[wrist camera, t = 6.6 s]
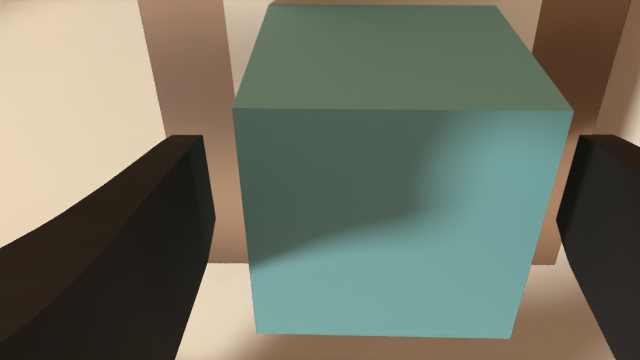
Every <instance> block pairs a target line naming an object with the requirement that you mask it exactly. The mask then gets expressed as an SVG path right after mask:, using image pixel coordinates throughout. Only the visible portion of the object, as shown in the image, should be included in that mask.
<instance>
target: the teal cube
mask: <svg viewBox="0 0 640 360" xmlns="http://www.w3.org/2000/svg"><path fill="white" fill-rule="evenodd" d="M232 114H233V123H234V133H235V142H236V151H237V160H238V169H239V178H240V188H241V197H242V206H243V215H244V224H245V233H246V243H247V252H248V261H249V270H250V279H251V288H252V298H253V307H254V316H255V325H256V334H304V335H351V336H399V337H446V338H494V339H510V337H511V334H512V330H513V327H514V323H515V320H516V316H517V313H518V309H519V305H520V302H521V298H522V295H523V291H524V288H525V284H526V281H527V277H528V274H529V270H530V266H531V263H532V259H533V256H534V252H535V249H536V245H537V242H538V238H539V234H540V231H541V227H542V224H543V220H544V217H545V213H546V210H547V206H548V202H549V199H550V195H551V192H552V188H553V185H554V181H555V178H556V174H557V171H558V167H559V163H560V160H561V156H562V153H563V149H564V146H565V142H566V139H567V135H568V131H569V128H570V124H571V121H572V117H573V114H574V110H573V109H572V107H571V106H570V105H569V103H568V102H567V100H566V99H565V98H564V96H563V95H562V94H561V92H560V91H559V90H558V88H557V87H556V86H555V84H554V83H553V82H552V80H551V79H550V78H549V76H548V75H547V74H546V72H545V71H544V70H543V68H542V67H541V65H540V64H539V63H538V61H537V60H536V59H535V57H534V56H533V55H532V53H531V52H530V51H529V49H528V48H527V47H526V45H525V44H524V43H523V41H522V40H521V39H520V37H519V36H518V35H517V33H516V32H515V30H514V29H513V28H512V26H511V25H510V24H509V22H508V21H507V20H506V18H505V17H504V16H503V14H502V13H501V12H500V10H499V9H498V8H497V6H496V5H268V8H267V11H266V14H265V17H264V19H263V22H262V25H261V28H260V31H259V33H258V36H257V39H256V42H255V45H254V47H253V50H252V53H251V56H250V59H249V61H248V64H247V67H246V70H245V73H244V75H243V78H242V81H241V84H240V87H239V89H238V92H237V95H236V98H235V101H234V103H233V106H232Z"/></svg>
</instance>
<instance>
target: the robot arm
mask: <svg viewBox="0 0 640 360" xmlns="http://www.w3.org/2000/svg"><path fill="white" fill-rule="evenodd" d="M215 221H216V215H215V208H214V202H213V196H212V190H211V183H210V177H209V171H208V164H207V158H206V152H205V146H204V139H203V135H171V136H169V137H168V138H166V139H165V140H163V141H162V142H160V143H159V144H158V145H156V146H155V147H153V148H152V149H151V150H149V151H148V152H147V153H146V154H144V155H143V156H142V157H140V158H139V159H138V160H136V161H135V162H134V163H132V164H131V165H130V166H128V167H127V168H126V169H124V170H123V171H122V172H120V173H119V174H118V175H116V176H115V177H114V178H112V179H111V180H110V181H108V182H107V183H106V184H104V185H103V186H101V187H100V188H98V189H97V190H95V191H94V192H92V193H91V194H90V195H88V196H87V197H85V198H84V199H82V200H81V201H79V202H78V203H76V204H75V205H73V206H72V207H70V208H69V209H67V210H66V211H64V212H63V213H61V214H60V215H58V216H56V217H55V218H53V219H52V220H50V221H48V222H47V223H45V224H43V225H42V226H40V227H38V228H36V229H35V230H33V231H31V232H29V233H27V234H26V235H24V236H22V237H20V238H18V239H16V240H15V241H13V242H11V243H9V244H7V245H5V246H3V247H1V248H0V360H175V358H176V355H177V352H178V349H179V346H180V343H181V340H182V337H183V334H184V331H185V328H186V325H187V322H188V319H189V316H190V313H191V311H192V308H193V305H194V302H195V299H196V296H197V293H198V290H199V287H200V284H201V281H202V278H203V275H204V272H205V269H206V266H207V263H208V259H209V254H210V249H211V244H212V238H213V233H214V227H215ZM556 223H557V227H558V230H559V233H560V237H561V240H562V244H563V247H564V250H565V253H566V256H567V259H568V262H569V265H570V267H571V269H572V271H573V273H574V275H575V278H576V280H577V282H578V284H579V286H580V288H581V290H582V292H583V294H584V296H585V298H586V300H587V302H588V304H589V306H590V308H591V310H592V312H593V314H594V317H595V319H596V321H597V323H598V325H599V327H600V329H601V331H602V333H603V335H604V337H605V339H606V341H607V343H608V345H609V347H610V349H611V351H612V353H613V355H614V357H615V359H616V360H640V147H638V146H636V145H634V144H632V143H630V142H628V141H626V140H624V139H622V138H619V137H617V136H615V135H579V138H578V142H577V145H576V149H575V152H574V156H573V160H572V163H571V167H570V170H569V174H568V178H567V181H566V185H565V188H564V192H563V195H562V199H561V203H560V206H559V210H558V213H557V217H556Z"/></svg>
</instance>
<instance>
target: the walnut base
mask: <svg viewBox="0 0 640 360" xmlns="http://www.w3.org/2000/svg"><path fill="white" fill-rule="evenodd" d="M630 2H631V0H138V5H139V10H140V15H141V19H142V24H143V29H144V34H145V38H146V43H147V48H148V53H149V57H150V62H151V67H152V72H153V76H154V81H155V86H156V91H157V95H158V100H159V105H160V110H161V115H162V119H163V124H164V129H165V134H166V138H168V137H169V136H171V135H203V139H204V146H205V152H206V158H207V164H208V171H209V177H210V183H211V190H212V196H213V202H214V208H215V215H216V221H215V227H214V233H213V238H212V244H211V249H210V254H209V259H208V263H249V261H248V252H247V243H246V233H245V224H244V215H243V206H242V197H241V188H240V178H239V169H238V160H237V151H236V142H235V133H234V123H233V114H232V106H233V103H234V101H235V98H236V95H237V92H238V89H239V87H240V84H241V81H242V78H243V75H244V73H245V70H246V67H247V64H248V61H249V59H250V56H251V53H252V50H253V47H254V45H255V42H256V39H257V36H258V33H259V31H260V28H261V25H262V22H263V19H264V17H265V14H266V11H267V8H268V5H496V6H497V8H498V9H499V10H500V12H501V13H502V14H503V16H504V17H505V18H506V20H507V21H508V22H509V24H510V25H511V26H512V28H513V29H514V30H515V32H516V33H517V35H518V36H519V37H520V39H521V40H522V41H523V43H524V44H525V45H526V47H527V48H528V49H529V51H530V52H531V53H532V55H533V56H534V57H535V59H536V60H537V61H538V63H539V64H540V65H541V67H542V68H543V70H544V71H545V72H546V74H547V75H548V76H549V78H550V79H551V80H552V82H553V83H554V84H555V86H556V87H557V88H558V90H559V91H560V92H561V94H562V95H563V96H564V98H565V99H566V100H567V102H568V103H569V105H570V106H571V107H572V109H573V110H574V114H573V117H572V121H571V124H570V128H569V131H568V135H567V139H566V142H565V146H564V149H563V153H562V156H561V160H560V163H559V167H558V171H557V174H556V178H555V181H554V185H553V188H552V192H551V195H550V199H549V202H548V206H547V210H546V213H545V217H544V220H543V224H542V227H541V231H540V234H539V238H538V242H537V245H536V249H535V252H534V256H533V259H532V263H531V265H555V263H556V259H557V256H558V252H559V249H560V245H561V242H562V240H561V237H560V233H559V230H558V227H557V223H556V217H557V213H558V210H559V206H560V203H561V199H562V195H563V192H564V188H565V185H566V181H567V178H568V174H569V170H570V167H571V163H572V160H573V156H574V152H575V149H576V145H577V142H578V138H579V135H592V134H593V131H594V127H595V124H596V120H597V117H598V113H599V110H600V107H601V103H602V100H603V96H604V93H605V89H606V86H607V82H608V79H609V75H610V72H611V68H612V65H613V61H614V58H615V54H616V51H617V48H618V44H619V41H620V37H621V34H622V30H623V27H624V23H625V20H626V16H627V13H628V9H629V6H630Z"/></svg>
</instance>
